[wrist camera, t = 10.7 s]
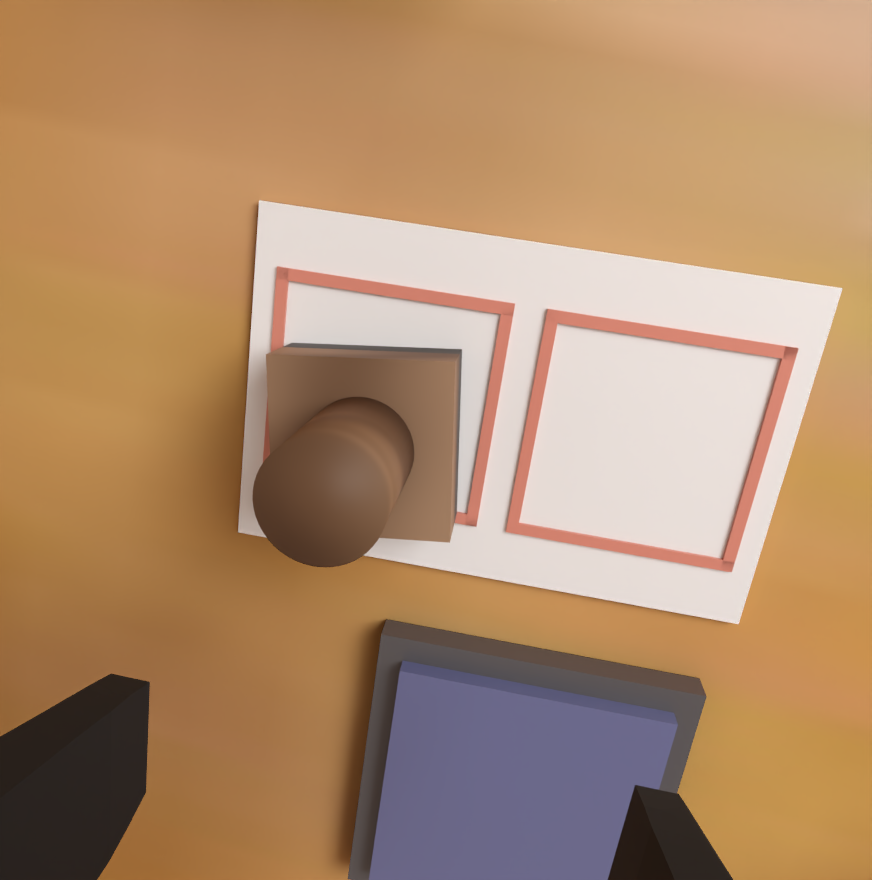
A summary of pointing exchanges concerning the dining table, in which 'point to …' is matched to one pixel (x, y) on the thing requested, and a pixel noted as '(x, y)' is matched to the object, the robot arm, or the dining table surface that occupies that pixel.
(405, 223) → the sheet
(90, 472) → the dining table surface
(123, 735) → the robot arm
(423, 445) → the stamp
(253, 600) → the dining table surface
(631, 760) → the ink pad
